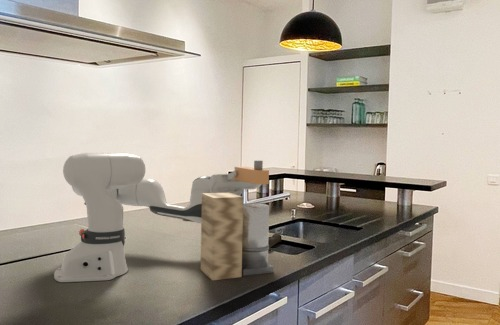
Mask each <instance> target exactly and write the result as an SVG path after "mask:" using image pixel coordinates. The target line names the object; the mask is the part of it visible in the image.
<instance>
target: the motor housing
mask: <svg viewBox="0 0 500 325" xmlns="http://www.w3.org/2000/svg"><path fill="white" fill-rule="evenodd" d="M269 228H270V205H268V204H265V203H255V202H253V203H252V202H251V203H249V202H246V203H245V202H243V231H242V276H253V275H262V274H271V273H274V265H272V264H270V263H269V250H268V249H269V244H268V238H270V235H269V234H270V233H269V232H270V230H269Z"/></svg>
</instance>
